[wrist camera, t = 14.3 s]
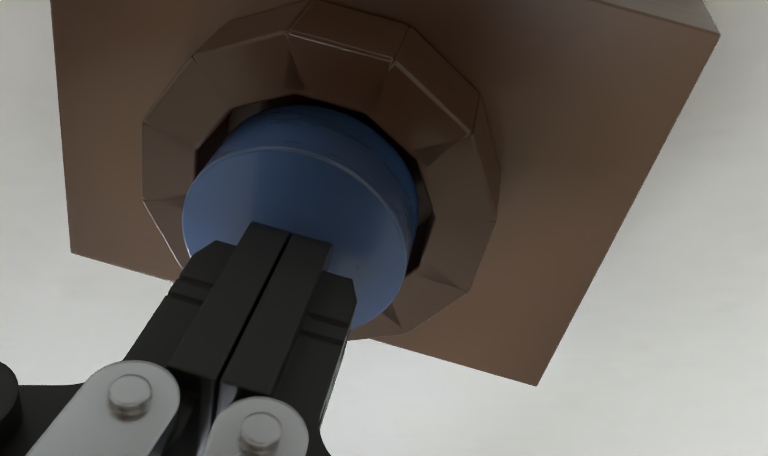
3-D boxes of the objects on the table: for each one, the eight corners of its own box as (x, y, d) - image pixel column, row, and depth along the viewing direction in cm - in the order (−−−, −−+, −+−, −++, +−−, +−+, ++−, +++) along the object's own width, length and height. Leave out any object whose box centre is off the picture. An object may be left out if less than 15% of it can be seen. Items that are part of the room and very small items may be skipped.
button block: (110, 208, 21) (31, 297, 18) (96, -169, 15) (-27, -138, 12) (537, 330, 21) (536, 443, 17) (700, -4, 15) (745, 74, 11)
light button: (208, 250, 16) (177, 300, 15) (221, 77, 14) (184, 118, 12) (394, 303, 16) (380, 358, 15) (443, 139, 13) (432, 187, 12)
